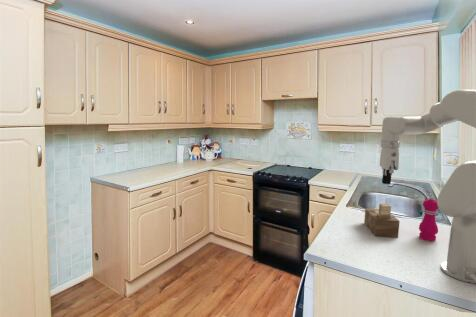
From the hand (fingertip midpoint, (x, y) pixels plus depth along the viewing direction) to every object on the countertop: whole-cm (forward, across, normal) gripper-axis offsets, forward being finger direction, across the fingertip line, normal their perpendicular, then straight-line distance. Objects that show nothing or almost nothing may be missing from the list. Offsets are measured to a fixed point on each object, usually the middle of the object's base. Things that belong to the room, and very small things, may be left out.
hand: (386, 183), depth 128 cm
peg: (+18, -1, 0) cm, 18 cm away
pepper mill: (+24, -4, -18) cm, 31 cm away
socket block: (+24, +3, 0) cm, 24 cm away
